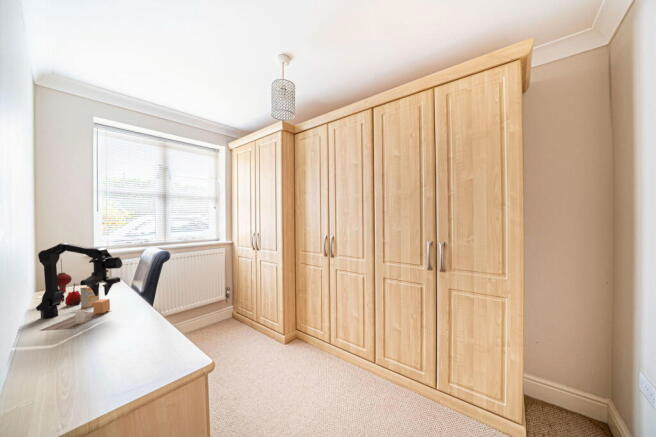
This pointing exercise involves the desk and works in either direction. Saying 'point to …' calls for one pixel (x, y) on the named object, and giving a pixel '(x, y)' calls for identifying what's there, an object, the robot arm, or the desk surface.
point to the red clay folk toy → (73, 298)
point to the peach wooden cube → (101, 306)
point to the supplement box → (88, 297)
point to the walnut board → (74, 321)
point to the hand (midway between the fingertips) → (101, 295)
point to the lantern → (63, 280)
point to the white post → (80, 316)
